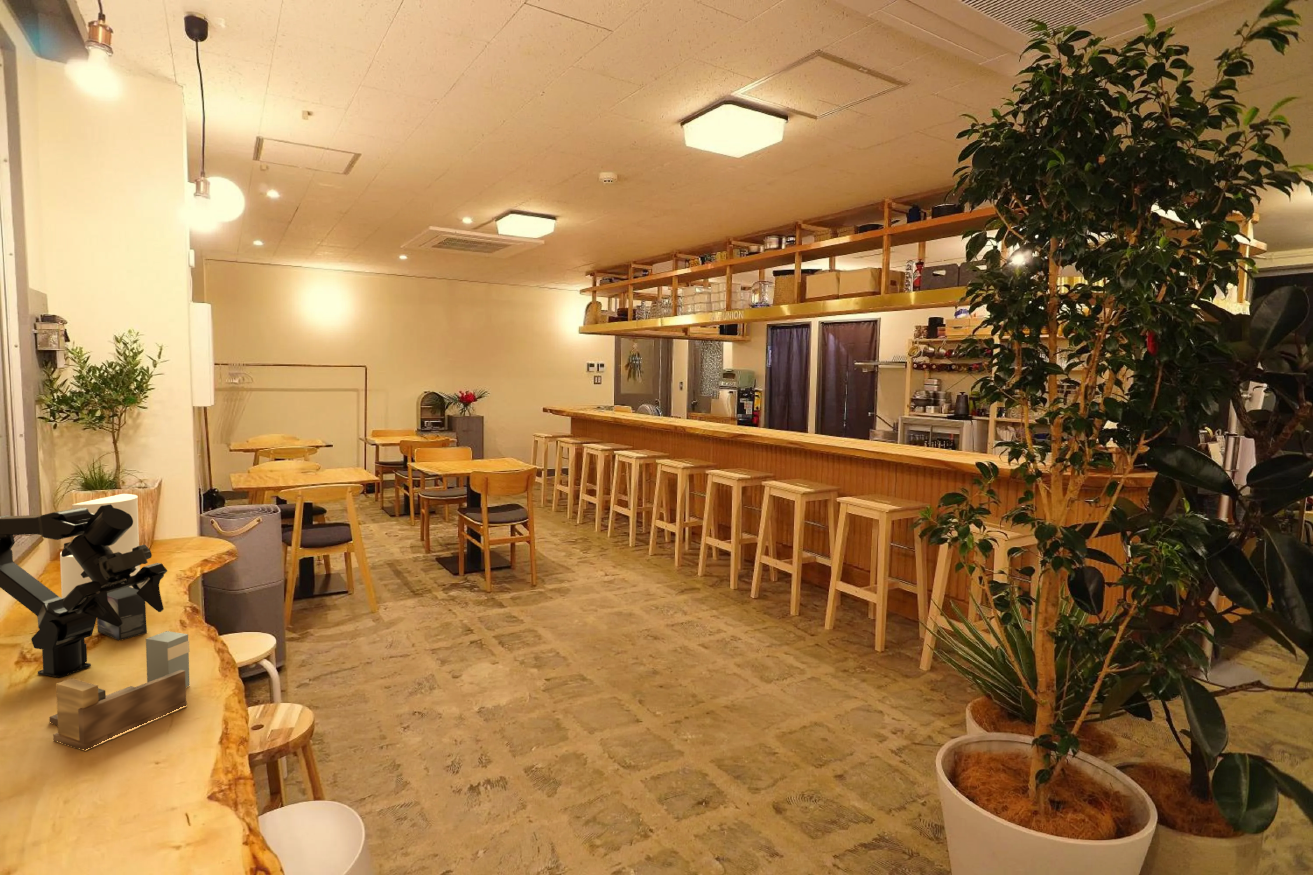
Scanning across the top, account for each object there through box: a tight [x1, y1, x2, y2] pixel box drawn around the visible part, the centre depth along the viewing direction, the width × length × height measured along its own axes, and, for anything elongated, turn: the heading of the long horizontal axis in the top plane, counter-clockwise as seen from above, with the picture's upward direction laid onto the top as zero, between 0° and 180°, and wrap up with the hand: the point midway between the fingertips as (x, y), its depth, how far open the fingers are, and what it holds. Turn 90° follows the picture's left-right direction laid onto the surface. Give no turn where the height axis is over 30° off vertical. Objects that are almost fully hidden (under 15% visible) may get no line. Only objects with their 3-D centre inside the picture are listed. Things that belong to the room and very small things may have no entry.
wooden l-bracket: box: [49, 670, 188, 750], centre depth 128 cm, size 18×16×10 cm
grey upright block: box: [145, 630, 190, 688], centre depth 141 cm, size 5×6×11 cm
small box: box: [96, 587, 148, 641], centre depth 170 cm, size 11×6×10 cm, turn 62°
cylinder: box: [59, 493, 141, 598], centre depth 194 cm, size 17×17×28 cm
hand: (141, 617), depth 144 cm, fingers open, 9 cm apart
